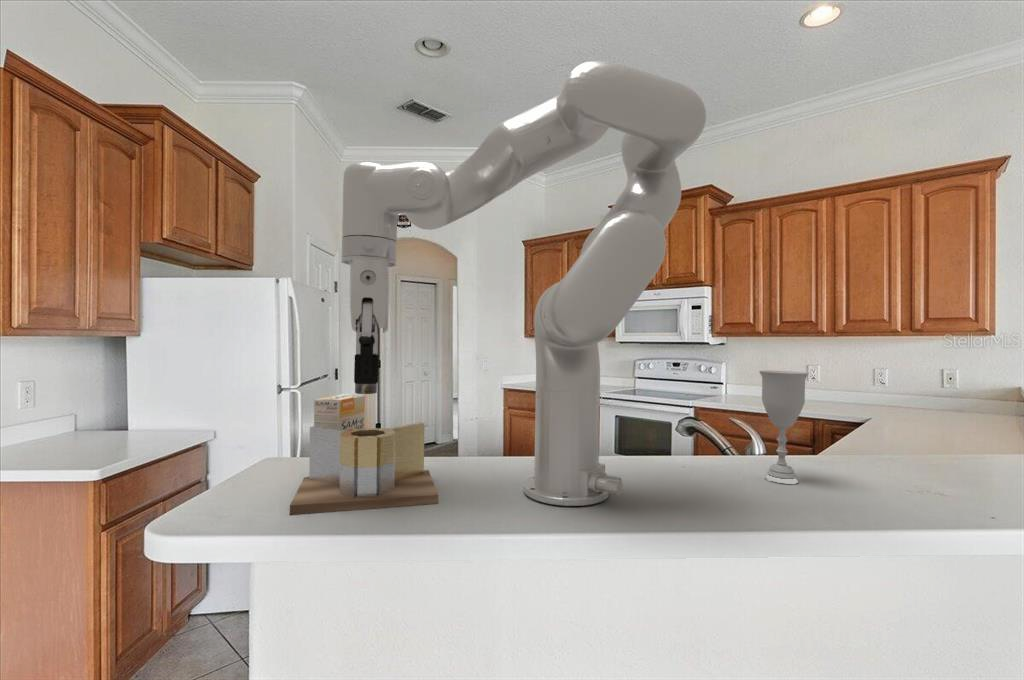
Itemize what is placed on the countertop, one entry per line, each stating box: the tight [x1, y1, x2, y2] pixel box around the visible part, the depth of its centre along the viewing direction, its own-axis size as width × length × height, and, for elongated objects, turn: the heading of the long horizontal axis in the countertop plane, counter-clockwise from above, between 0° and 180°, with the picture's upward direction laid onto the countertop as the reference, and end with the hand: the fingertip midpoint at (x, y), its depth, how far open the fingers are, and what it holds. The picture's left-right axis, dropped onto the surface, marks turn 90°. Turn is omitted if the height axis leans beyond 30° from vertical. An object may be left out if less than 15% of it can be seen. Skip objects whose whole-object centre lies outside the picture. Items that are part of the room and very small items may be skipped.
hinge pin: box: [354, 320, 379, 395], centre depth 71 cm, size 4×4×10 cm
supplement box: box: [313, 393, 366, 430], centre depth 82 cm, size 8×5×13 cm, turn 168°
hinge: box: [308, 422, 425, 498], centre depth 73 cm, size 11×17×8 cm, turn 105°
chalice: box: [758, 370, 810, 479], centre depth 82 cm, size 7×7×18 cm
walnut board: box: [289, 469, 439, 516], centre depth 72 cm, size 13×19×1 cm
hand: (366, 381), depth 71 cm, fingers closed on hinge pin, 3 cm apart
